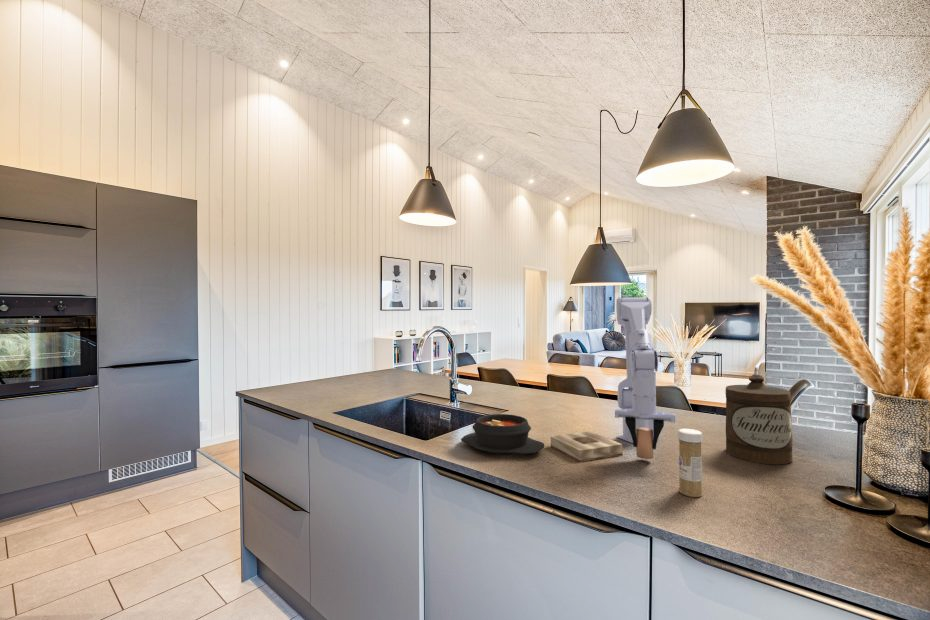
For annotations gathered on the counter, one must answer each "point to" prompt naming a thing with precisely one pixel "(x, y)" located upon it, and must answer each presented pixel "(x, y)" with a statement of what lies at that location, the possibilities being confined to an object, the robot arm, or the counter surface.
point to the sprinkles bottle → (690, 462)
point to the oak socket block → (586, 446)
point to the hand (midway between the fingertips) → (644, 447)
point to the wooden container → (759, 422)
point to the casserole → (502, 435)
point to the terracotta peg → (644, 443)
